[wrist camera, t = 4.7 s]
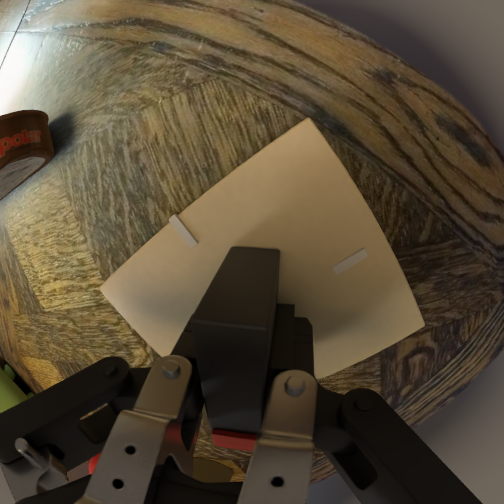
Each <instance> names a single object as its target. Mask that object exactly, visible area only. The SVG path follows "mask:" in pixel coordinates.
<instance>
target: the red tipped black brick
mask: <svg viewBox="0 0 504 504" xmlns="http://www.w3.org/2000/svg"><path fill="white" fill-rule="evenodd" d="M279 265H280V250H278V249H263V248H247V247H231V248H230V250H229V251H228V253H227V255H226V257H225V258H224V260H223V262H222V264H221V266H220V267H219V269H218V271H217V273H216V274H215V276H214V278H213V280H212V281H211V283H210V285H209V287H208V289H207V290H206V292H205V294H204V296H203V297H202V299H201V301H200V303H199V305H198V306H197V308H196V310H195V312H194V314H193V315H192V317H191V327H192V334H193V340H194V347H195V353H196V359H197V365H198V371H199V376H200V382H201V387H202V392H203V397H204V402H205V407H206V412H207V417H208V422H209V426H210V431H211V435H212V439H213V442H214V445H215V446H220V447H226V448H232V449H239V450H246V451H253V448H254V444H255V441H256V438H257V436H258V434H259V433H260V430H261V427H262V423H263V419H264V415H265V411H266V409H265V406H266V393H267V379H268V366H269V359H270V352H271V345H272V338H273V330H274V323H275V315H276V307H277V298H278V282H279Z"/></svg>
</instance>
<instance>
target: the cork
mask: <svg viewBox="0 0 504 504" xmlns="http://www.w3.org/2000/svg"><path fill="white" fill-rule="evenodd" d="M232 475H233V471H232V470H231V469H230V468H228V467H227V466H224V465H222V464H220V463H217V462H214V461H210V460H206V459H200V458H193V475H192V478H194V479H196V480H198V481H201V482H204V483H220V482H230V479H231V477H232Z"/></svg>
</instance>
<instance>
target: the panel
mask: <svg viewBox="0 0 504 504" xmlns="http://www.w3.org/2000/svg"><path fill="white" fill-rule="evenodd" d="M168 220H169V223H168V224H167V225H166V226H164V227H163V228H162V229H161V230H160V231H159V232H158V233H156V234H155V235H154V236H153V237H152V238H151V239H150V240H149V241H147V242H146V243H145V244H144V245H143V246H142V247H141V248H140V249H139V250H138V251H136V252H135V253H134V254H133V255H132V256H131V257H130V258H129V259H128V260H127V261H126V262H125V263H124V264H123V265H122V266H120V267H119V268H118V269H117V270H116V271H115V272H114V273H113V274H112V275H111V276H110V277H109V278H108V279H107V280H106V281H105V282H104V283H103V284H102V285H101V286H100V287H99V290H100V291H101V292H102V293H103V294H104V296H105V297H106V298H107V299H108V300H109V302H110V303H111V304H112V305H113V306H114V307H115V308H116V310H117V311H118V312H119V313H120V314H121V315H122V316H123V317H124V319H125V320H126V321H127V322H128V323H129V324H130V325H131V326H132V327H133V328H134V329H135V330H136V332H137V333H138V334H139V335H140V336H141V337H142V338H143V339H144V340H145V341H146V342H147V343H148V344H149V345H150V346H151V347H152V348H153V349H154V350H155V351H156V352H157V353H158V354H159V355H160V356H161V357H164V356H168V355H170V354H171V352H172V350H173V348H174V346H175V344H176V342H177V341H178V339H179V337H180V335H181V333H182V331H183V330H184V328H185V326H186V325H187V322H188V321H189V319H190V317H191V315H192V314H193V313H194V312H195V310H196V308H197V306H198V305H199V303H200V301H201V299H202V297H203V296H204V294H205V292H206V290H207V289H208V287H209V285H210V283H211V281H212V280H213V278H214V276H215V274H216V273H217V271H218V269H219V267H220V266H221V264H222V262H223V260H224V258H225V257H226V255H227V253H228V251H229V250H230V248H231V247H247V248H263V249H278V250H280V265H279V282H278V298H277V303H281V304H295V314H294V317H306V318H308V320H309V321H310V323H311V324H312V326H313V348H314V375H315V378H316V380H317V382H318V383H319V381H318V380H319V379H322V378H324V377H326V376H329V375H331V374H333V373H336V372H338V371H340V370H342V369H345V368H347V367H349V366H351V365H353V364H355V363H358V362H360V361H362V360H364V359H366V358H368V357H370V356H372V355H374V354H376V353H378V352H380V351H381V350H383V349H385V348H387V347H389V346H391V345H393V344H395V343H396V342H398V341H400V340H402V339H403V338H405V337H407V336H409V335H410V334H412V333H414V332H415V331H417V330H419V329H420V328H422V327H424V326H425V322H424V320H423V317H422V315H421V312H420V310H419V307H418V305H417V303H416V300H415V298H414V296H413V293H412V291H411V289H410V286H409V284H408V282H407V280H406V277H405V275H404V273H403V271H402V269H401V267H400V265H399V263H398V261H397V259H396V256H395V254H394V252H393V250H392V248H391V247H390V245H389V243H388V241H387V239H386V237H385V235H384V233H383V231H382V229H381V227H380V226H379V224H378V222H377V220H376V218H375V217H374V215H373V213H372V211H371V210H370V208H369V206H368V204H367V203H366V201H365V199H364V198H363V196H362V194H361V193H360V191H359V189H358V188H357V186H356V184H355V183H354V181H353V180H352V178H351V176H350V175H349V173H348V172H347V170H346V169H345V167H344V166H343V164H342V162H341V161H340V159H339V158H338V156H337V155H336V154H335V152H334V151H333V149H332V148H331V146H330V145H329V143H328V142H327V141H326V139H325V138H324V136H323V135H322V134H321V132H320V131H319V129H318V128H317V127H316V125H315V124H314V123H313V121H312V120H311V119H310V118H309V117H308V118H306V119H305V120H303V121H302V122H300V123H299V124H297V125H296V126H294V127H293V128H291V129H290V130H288V131H287V132H285V133H284V134H282V135H281V136H280V137H278V138H277V139H275V140H274V141H272V142H271V143H270V144H268V145H267V146H265V147H264V148H263V149H261V150H260V151H259V152H257V153H256V154H254V155H253V156H252V157H250V158H249V159H248V160H246V161H245V162H244V163H242V164H241V165H240V166H238V167H237V168H236V169H234V170H233V171H232V172H230V173H229V174H228V175H227V176H225V177H224V178H223V179H221V180H220V181H219V182H218V183H216V184H215V185H214V186H213V187H211V188H210V189H209V190H208V191H206V192H205V193H204V194H203V195H201V196H200V197H199V198H198V199H196V200H195V201H194V202H193V203H192V204H190V205H189V206H188V207H187V208H186V209H184V210H183V211H182V212H181V213H180V214H178V215H177V214H176V213H175V214H174V215H173V216H172V217H170V218H169V219H168Z"/></svg>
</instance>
